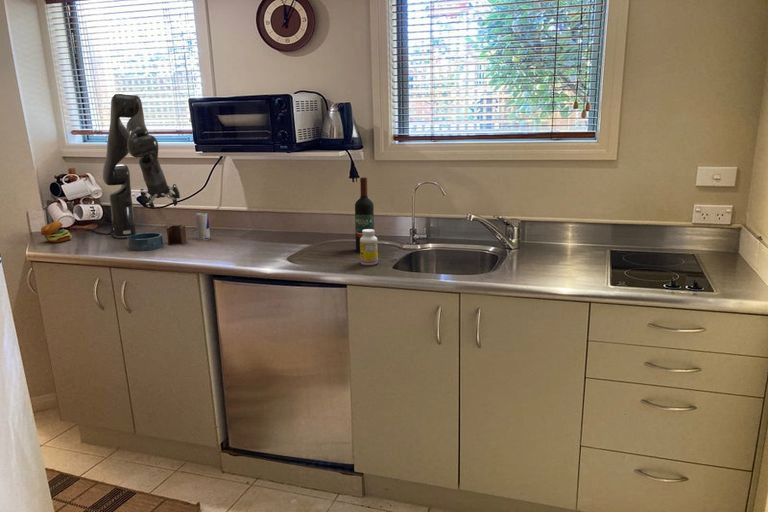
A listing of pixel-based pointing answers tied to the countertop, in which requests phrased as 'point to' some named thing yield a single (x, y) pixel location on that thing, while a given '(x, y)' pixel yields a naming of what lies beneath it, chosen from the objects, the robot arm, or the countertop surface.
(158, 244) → the bowl
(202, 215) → the energy drink
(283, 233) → the countertop surface
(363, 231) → the supplement bottle
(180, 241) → the brown block
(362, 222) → the wine bottle
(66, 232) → the cheeseburger
